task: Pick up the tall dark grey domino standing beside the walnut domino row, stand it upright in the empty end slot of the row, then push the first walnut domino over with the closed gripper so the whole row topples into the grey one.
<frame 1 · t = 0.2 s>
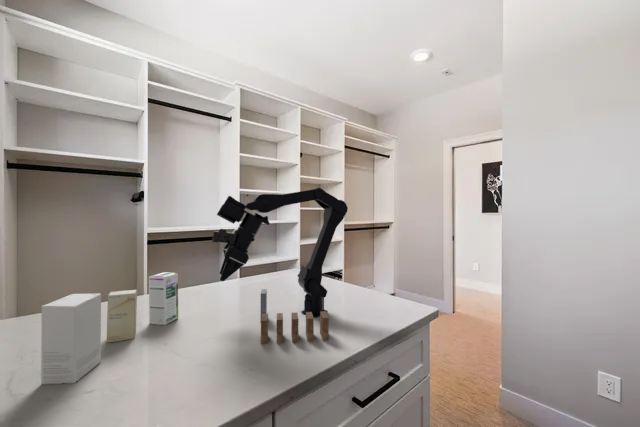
hand: (221, 277, 86), 14 cm above the counter, tool tilted 30°, fingers open, 9 cm apart
syrup box: (163, 321, 89), on the counter
domino 5: (264, 339, 76), on the counter
grey domino: (263, 320, 90), on the counter
domino 1: (324, 336, 79), on the counter
domino 4: (279, 338, 77), on the counter
domino 3: (294, 338, 78), on the counter
domino 2: (309, 337, 78), on the counter
skincare box: (122, 338, 77), on the counter
skincare box 2: (73, 374, 60), on the counter
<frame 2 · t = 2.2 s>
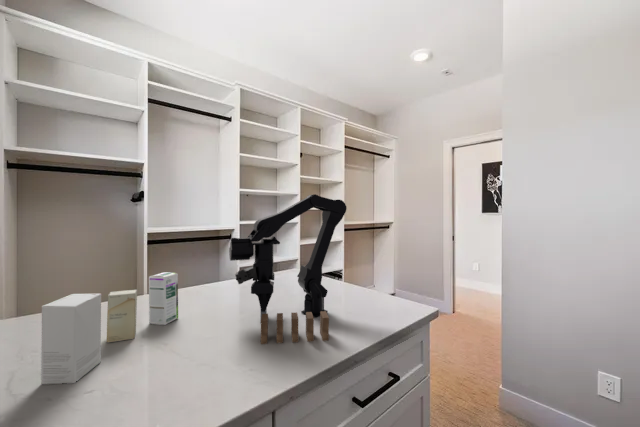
hand: (263, 308, 90), 4 cm above the counter, tool pointing down, fingers closed on grey domino, 5 cm apart
grey domino: (263, 320, 90), on the counter, touching gripper
everything else where it was.
when the fingers open (4 cm above the counter, at t = 6.6 s): grey domino stays where it is, on the counter.
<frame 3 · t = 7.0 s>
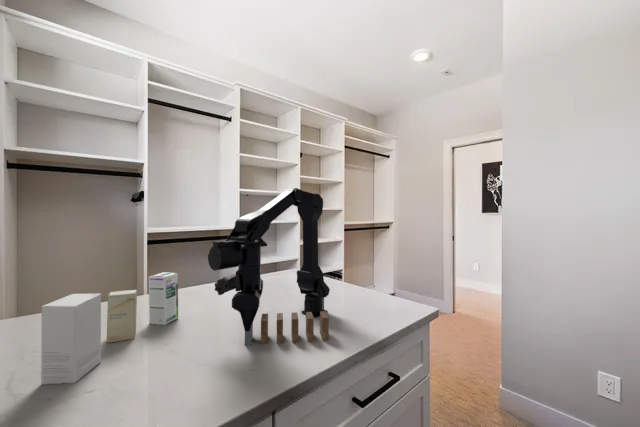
hand: (249, 323, 76), 4 cm above the counter, tool pointing down, fingers open, 9 cm apart
grey domino: (248, 340, 76), on the counter
everything else where it was.
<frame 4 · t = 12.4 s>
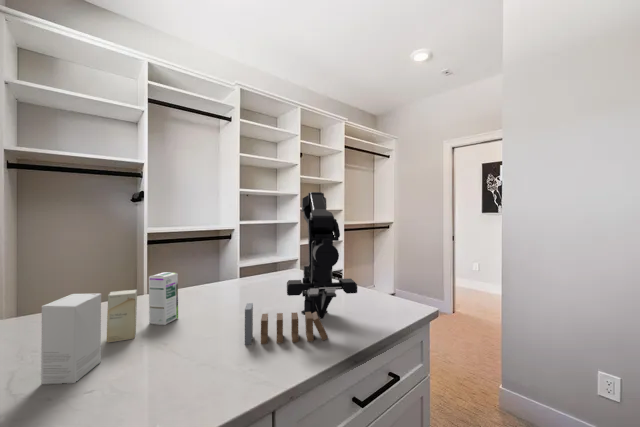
hand: (321, 318, 78), 5 cm above the counter, tool pointing down, fingers closed
domino 1: (323, 335, 79), on the counter, tilted 26°
everything else where it was.
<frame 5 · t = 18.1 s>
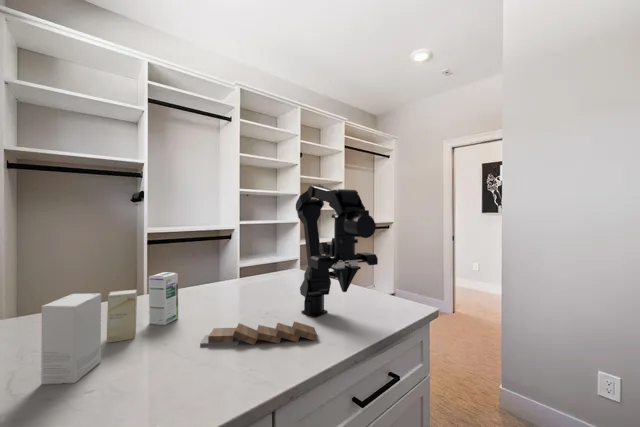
hand: (344, 291, 79), 12 cm above the counter, tool pointing down, fingers closed
domino 5: (234, 334, 76), point 2 cm above the counter, tilted 90°, touching grey domino
grey domino: (238, 340, 76), on the counter, tilted 90°, touching domino 5
domino 1: (314, 333, 78), point 1 cm above the counter, tilted 70°, touching domino 2
domino 4: (257, 338, 76), point 1 cm above the counter, tilted 66°
domino 3: (279, 336, 77), point 1 cm above the counter, tilted 74°, touching domino 2
domino 2: (298, 335, 78), point 1 cm above the counter, tilted 70°, touching domino 1, domino 3
everything else where it was.
at the end: grey domino inside the target area (2.2 cm from its centre), on the counter; grey domino tilted 90°; domino 5 tilted 90° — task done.
